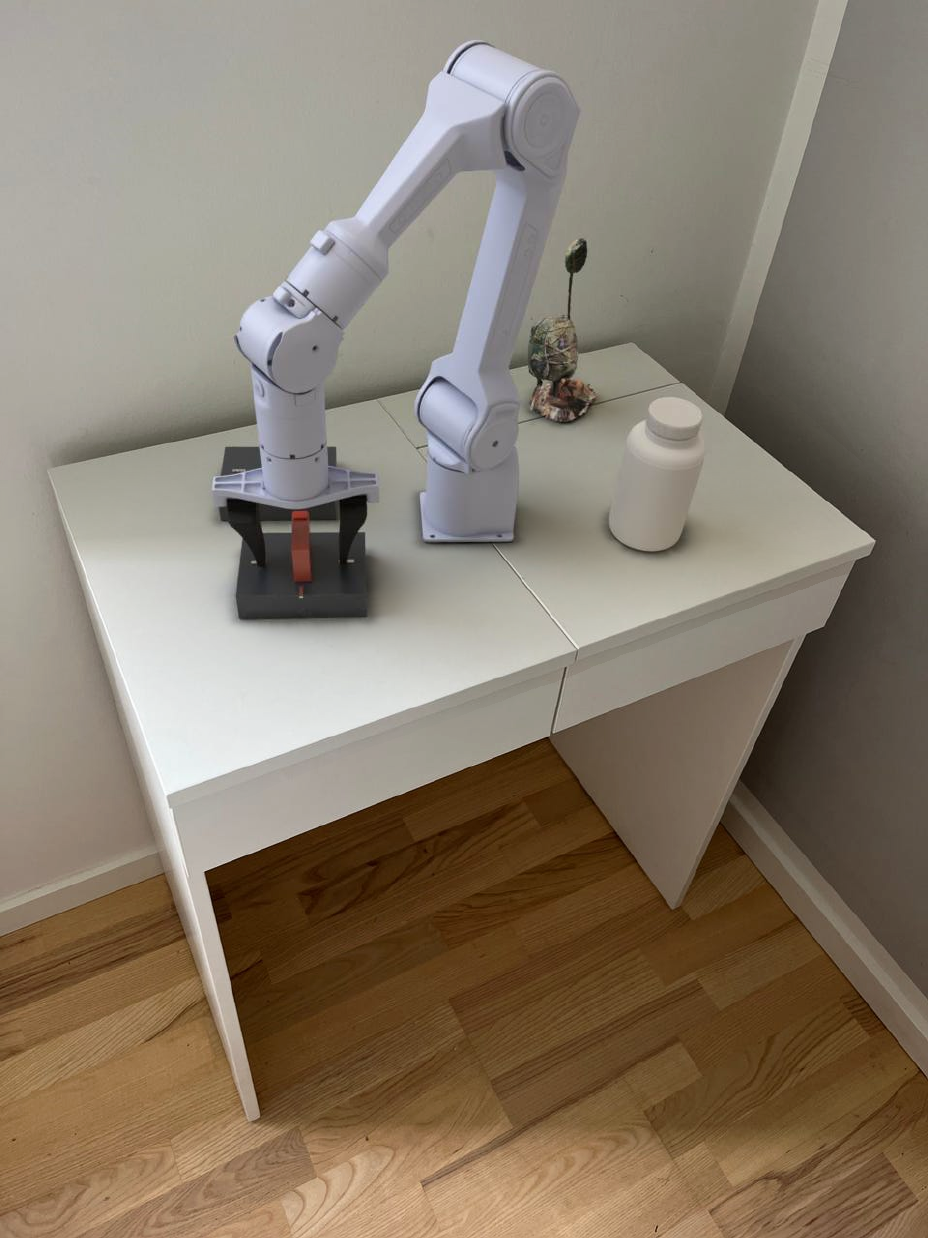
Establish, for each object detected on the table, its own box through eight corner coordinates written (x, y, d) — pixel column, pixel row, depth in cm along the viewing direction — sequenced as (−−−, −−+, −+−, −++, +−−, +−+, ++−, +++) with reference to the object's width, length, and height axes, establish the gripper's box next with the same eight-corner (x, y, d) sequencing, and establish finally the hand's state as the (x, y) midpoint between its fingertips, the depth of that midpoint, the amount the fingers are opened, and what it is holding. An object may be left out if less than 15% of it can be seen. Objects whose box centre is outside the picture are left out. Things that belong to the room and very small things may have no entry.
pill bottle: (679, 559, 99) (715, 440, 88) (603, 546, 100) (630, 426, 89) (682, 513, 105) (717, 395, 94) (610, 500, 105) (636, 382, 95)
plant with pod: (500, 403, 118) (516, 245, 104) (568, 377, 123) (592, 224, 109) (542, 435, 114) (564, 275, 99) (611, 407, 119) (641, 252, 104)
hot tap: (311, 581, 89) (309, 547, 86) (294, 582, 89) (291, 548, 86) (311, 543, 93) (308, 509, 90) (294, 543, 93) (291, 509, 90)
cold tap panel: (337, 466, 107) (336, 443, 104) (336, 522, 100) (335, 498, 98) (228, 466, 105) (225, 443, 103) (220, 522, 99) (216, 498, 96)
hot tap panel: (365, 551, 97) (365, 528, 95) (366, 619, 90) (366, 595, 88) (246, 553, 96) (242, 529, 93) (238, 621, 89) (234, 597, 87)
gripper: (375, 411, 84) (376, 528, 94) (209, 414, 83) (227, 533, 92) (380, 459, 80) (380, 577, 89) (203, 462, 78) (223, 583, 87)
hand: (302, 558), depth 90 cm, fingers open, 7 cm apart
